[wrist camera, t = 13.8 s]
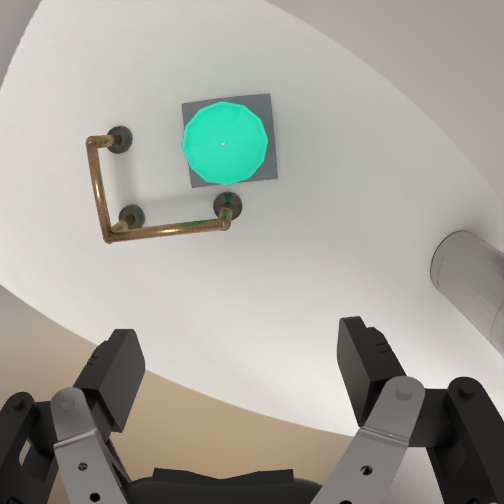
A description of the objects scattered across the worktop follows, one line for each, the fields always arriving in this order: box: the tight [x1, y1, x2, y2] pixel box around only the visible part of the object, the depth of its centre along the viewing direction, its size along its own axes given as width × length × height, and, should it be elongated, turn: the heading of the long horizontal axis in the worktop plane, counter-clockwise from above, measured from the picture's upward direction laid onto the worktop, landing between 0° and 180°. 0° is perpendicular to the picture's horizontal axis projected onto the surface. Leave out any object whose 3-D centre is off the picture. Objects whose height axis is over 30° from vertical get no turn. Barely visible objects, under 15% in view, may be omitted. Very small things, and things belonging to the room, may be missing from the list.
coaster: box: [182, 94, 278, 188], centre depth 31 cm, size 9×9×1 cm
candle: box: [182, 101, 268, 185], centre depth 25 cm, size 6×6×12 cm
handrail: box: [86, 127, 242, 244], centre depth 28 cm, size 14×12×8 cm
